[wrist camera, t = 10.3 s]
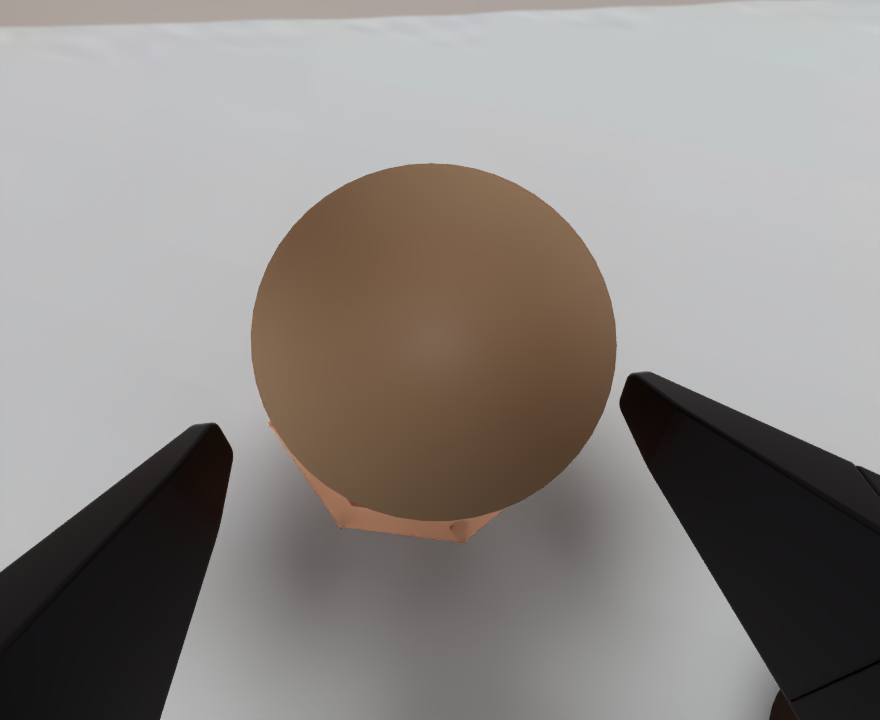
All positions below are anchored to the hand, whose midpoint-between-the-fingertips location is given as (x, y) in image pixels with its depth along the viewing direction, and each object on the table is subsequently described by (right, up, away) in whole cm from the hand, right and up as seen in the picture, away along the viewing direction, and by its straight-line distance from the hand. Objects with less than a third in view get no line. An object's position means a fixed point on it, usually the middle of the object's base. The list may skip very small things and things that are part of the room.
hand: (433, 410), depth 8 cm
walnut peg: (-1, 0, +10) cm, 10 cm away
